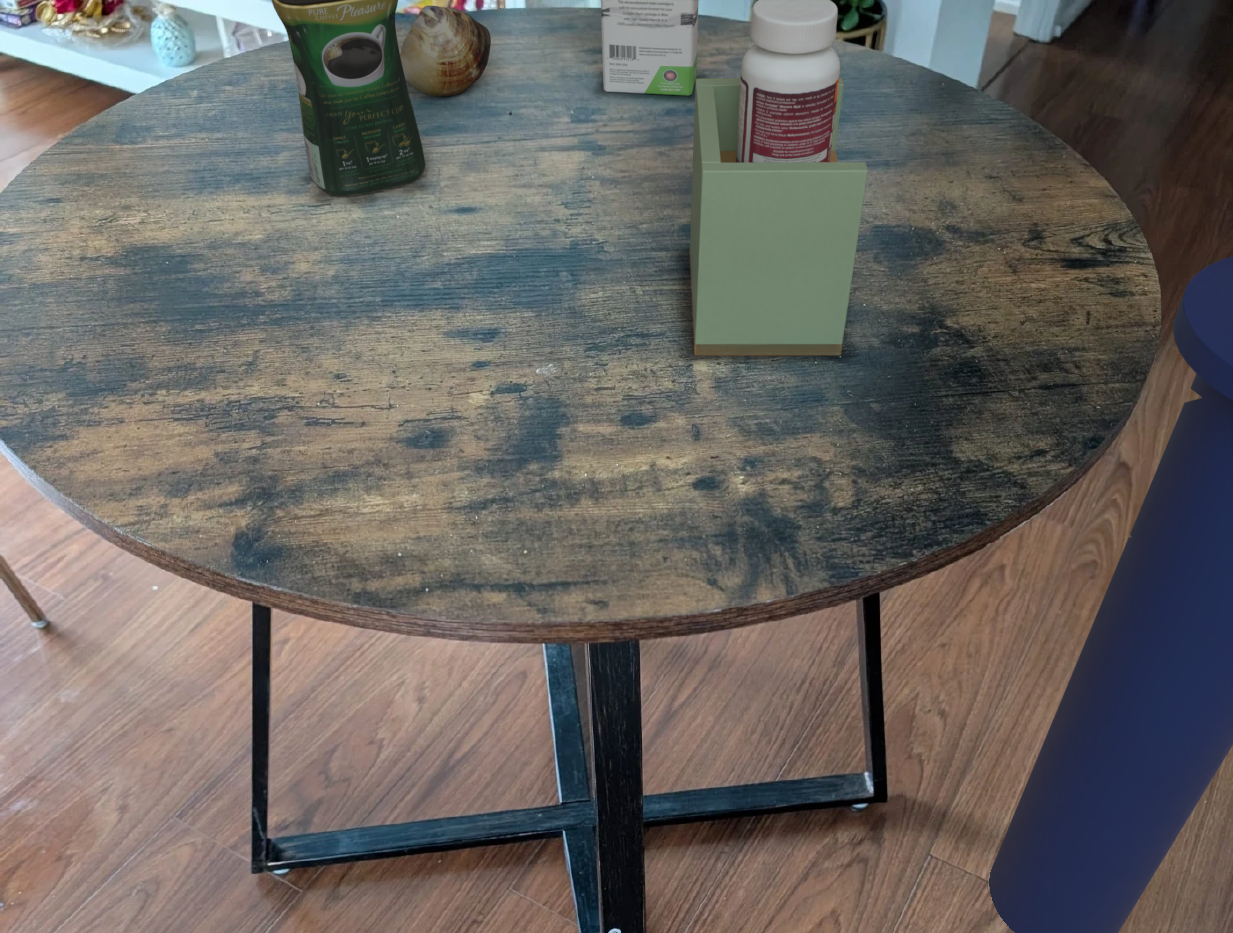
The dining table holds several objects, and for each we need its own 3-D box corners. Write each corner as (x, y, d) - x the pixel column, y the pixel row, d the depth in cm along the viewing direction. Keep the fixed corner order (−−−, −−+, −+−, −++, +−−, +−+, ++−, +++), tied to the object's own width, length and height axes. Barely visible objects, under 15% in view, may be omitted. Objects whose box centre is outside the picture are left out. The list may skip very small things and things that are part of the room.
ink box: (697, 76, 112) (702, -60, 104) (691, 97, 109) (695, -42, 100) (610, 71, 113) (608, -64, 105) (601, 92, 110) (598, -46, 101)
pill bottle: (844, 196, 77) (869, 13, 69) (766, 218, 75) (782, 33, 67) (791, 160, 81) (808, -18, 73) (716, 180, 79) (725, 0, 71)
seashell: (421, 117, 107) (409, 24, 101) (391, 97, 110) (377, 6, 104) (508, 91, 110) (501, 0, 105) (476, 72, 114) (467, -17, 108)
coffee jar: (411, 147, 102) (376, -93, 89) (435, 185, 97) (402, -63, 84) (302, 167, 100) (249, -77, 86) (321, 207, 95) (268, -45, 81)
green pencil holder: (820, 252, 89) (841, 77, 79) (840, 355, 79) (868, 170, 70) (689, 252, 89) (695, 77, 80) (694, 355, 79) (702, 170, 70)
